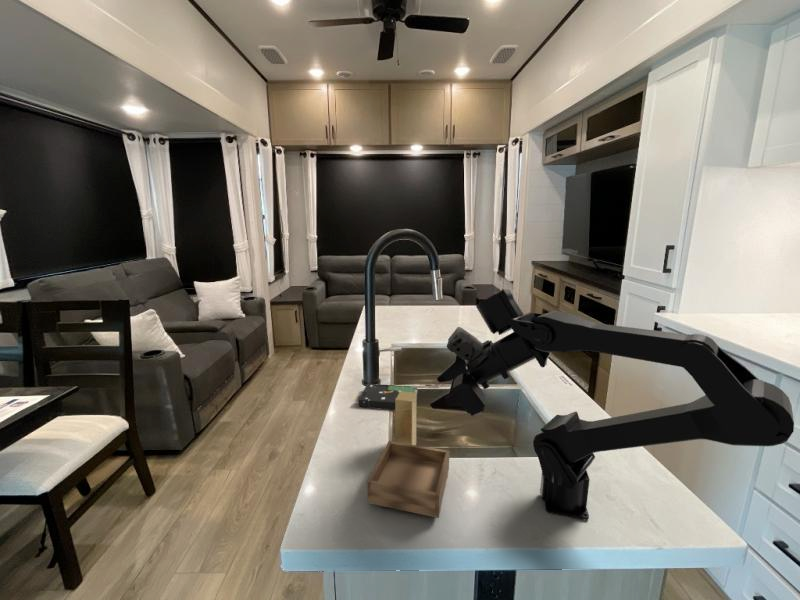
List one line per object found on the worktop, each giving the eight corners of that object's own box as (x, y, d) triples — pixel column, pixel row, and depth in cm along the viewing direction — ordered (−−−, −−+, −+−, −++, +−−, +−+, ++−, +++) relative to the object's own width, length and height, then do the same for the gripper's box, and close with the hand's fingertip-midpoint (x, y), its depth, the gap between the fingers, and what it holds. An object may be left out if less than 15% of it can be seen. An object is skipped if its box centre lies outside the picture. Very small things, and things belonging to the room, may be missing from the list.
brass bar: (416, 443, 78) (416, 392, 76) (411, 454, 74) (412, 401, 72) (400, 441, 79) (400, 391, 76) (395, 452, 75) (395, 399, 73)
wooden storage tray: (448, 474, 68) (449, 450, 67) (438, 523, 57) (439, 495, 56) (388, 463, 71) (388, 441, 70) (367, 508, 60) (367, 481, 59)
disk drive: (358, 409, 94) (414, 412, 92) (357, 399, 94) (413, 402, 91) (367, 392, 104) (417, 394, 102) (366, 383, 104) (417, 385, 101)
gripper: (480, 303, 72) (419, 340, 77) (477, 341, 54) (399, 386, 60) (511, 346, 73) (448, 380, 79) (518, 397, 56) (437, 435, 61)
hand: (434, 392), depth 70 cm, fingers open, 9 cm apart
